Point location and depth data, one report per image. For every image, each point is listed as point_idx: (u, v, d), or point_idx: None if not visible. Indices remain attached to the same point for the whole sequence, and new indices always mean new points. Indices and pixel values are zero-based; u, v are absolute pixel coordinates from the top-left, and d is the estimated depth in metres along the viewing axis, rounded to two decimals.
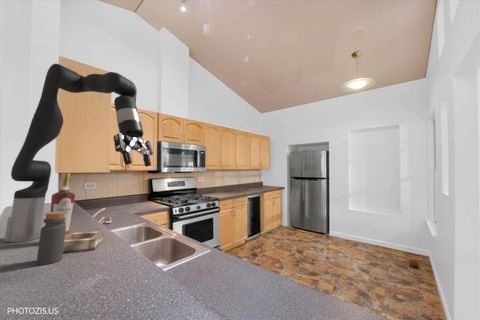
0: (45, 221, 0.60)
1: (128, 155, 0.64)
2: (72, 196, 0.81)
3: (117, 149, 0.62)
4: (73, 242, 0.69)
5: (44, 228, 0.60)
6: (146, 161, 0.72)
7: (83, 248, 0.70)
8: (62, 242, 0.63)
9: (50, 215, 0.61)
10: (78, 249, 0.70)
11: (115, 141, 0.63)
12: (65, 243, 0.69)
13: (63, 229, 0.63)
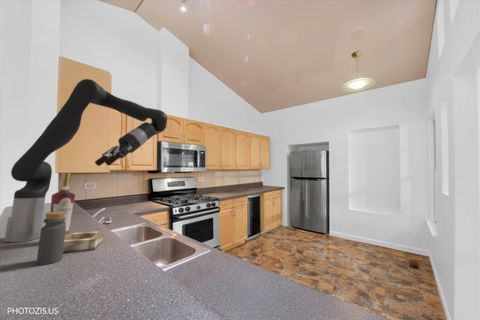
0: (45, 221, 0.60)
1: (114, 160, 0.74)
2: (72, 196, 0.81)
3: (120, 154, 0.73)
4: (73, 242, 0.69)
5: (44, 228, 0.60)
6: (101, 161, 0.78)
7: (83, 248, 0.70)
8: (62, 242, 0.63)
9: (50, 215, 0.61)
10: (78, 249, 0.70)
11: (125, 149, 0.75)
12: (65, 243, 0.69)
13: (63, 229, 0.63)
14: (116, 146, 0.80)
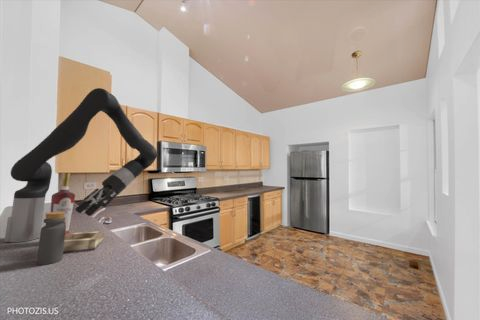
0: (45, 221, 0.60)
1: (96, 209, 0.68)
2: (72, 196, 0.81)
3: (102, 203, 0.68)
4: (73, 242, 0.69)
5: (44, 228, 0.60)
6: (82, 207, 0.72)
7: (83, 248, 0.70)
8: (62, 242, 0.63)
9: (50, 215, 0.61)
10: (78, 249, 0.70)
11: (108, 196, 0.70)
12: (65, 243, 0.69)
13: (63, 229, 0.63)
14: (99, 190, 0.74)
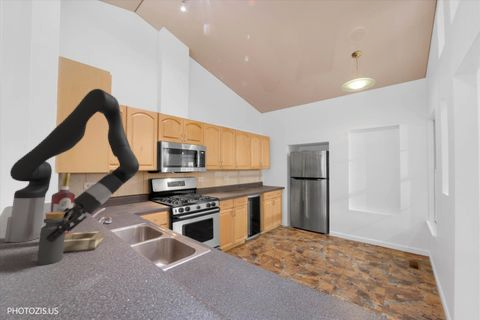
0: (45, 221, 0.60)
1: (59, 234, 0.61)
2: (72, 196, 0.81)
3: (65, 227, 0.60)
4: (73, 242, 0.69)
5: (44, 228, 0.60)
6: None
7: (83, 248, 0.70)
8: (62, 242, 0.63)
9: (50, 215, 0.61)
10: (78, 249, 0.70)
11: (74, 219, 0.62)
12: (65, 243, 0.69)
13: None
14: (70, 209, 0.66)
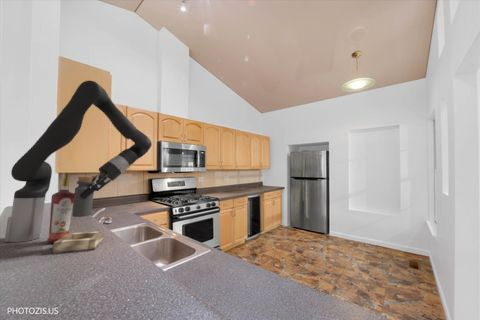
0: (78, 182, 0.74)
1: (90, 193, 0.75)
2: (72, 196, 0.81)
3: (95, 187, 0.74)
4: (73, 242, 0.69)
5: (78, 188, 0.74)
6: None
7: (83, 248, 0.70)
8: (91, 200, 0.76)
9: (82, 177, 0.74)
10: (78, 249, 0.70)
11: (101, 181, 0.75)
12: (65, 243, 0.69)
13: None
14: (96, 175, 0.80)
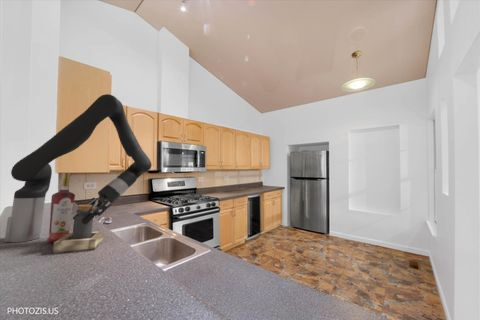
0: (78, 211, 0.74)
1: (91, 218, 0.74)
2: (72, 196, 0.81)
3: (97, 212, 0.74)
4: (73, 242, 0.69)
5: (77, 217, 0.74)
6: None
7: (83, 248, 0.70)
8: (91, 229, 0.76)
9: (82, 207, 0.75)
10: (78, 249, 0.70)
11: (103, 205, 0.76)
12: (65, 243, 0.69)
13: None
14: (95, 200, 0.80)
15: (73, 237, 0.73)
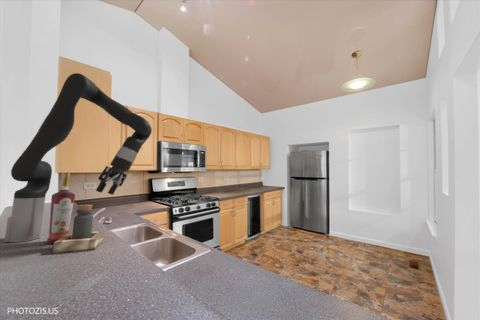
0: (77, 211, 0.74)
1: (103, 186, 0.78)
2: (72, 196, 0.81)
3: (100, 178, 0.77)
4: (73, 242, 0.69)
5: (77, 217, 0.74)
6: (112, 189, 0.86)
7: (83, 248, 0.70)
8: (90, 229, 0.76)
9: (81, 207, 0.74)
10: (78, 249, 0.70)
11: (104, 171, 0.78)
12: (65, 243, 0.69)
13: (91, 218, 0.77)
14: None
15: (73, 237, 0.73)
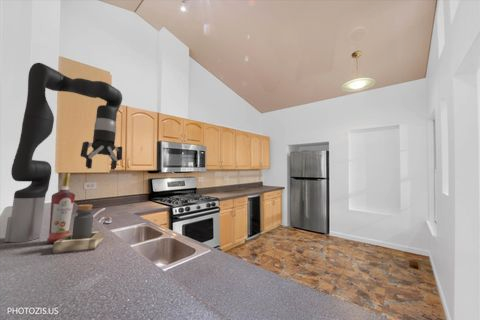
0: (78, 211, 0.74)
1: (89, 161, 0.76)
2: (72, 196, 0.81)
3: (81, 155, 0.75)
4: (73, 242, 0.69)
5: (77, 217, 0.74)
6: (112, 165, 0.84)
7: (83, 248, 0.70)
8: (90, 229, 0.76)
9: (81, 207, 0.75)
10: (78, 249, 0.70)
11: (82, 147, 0.76)
12: (65, 243, 0.69)
13: (91, 218, 0.77)
14: None
15: (73, 237, 0.73)
